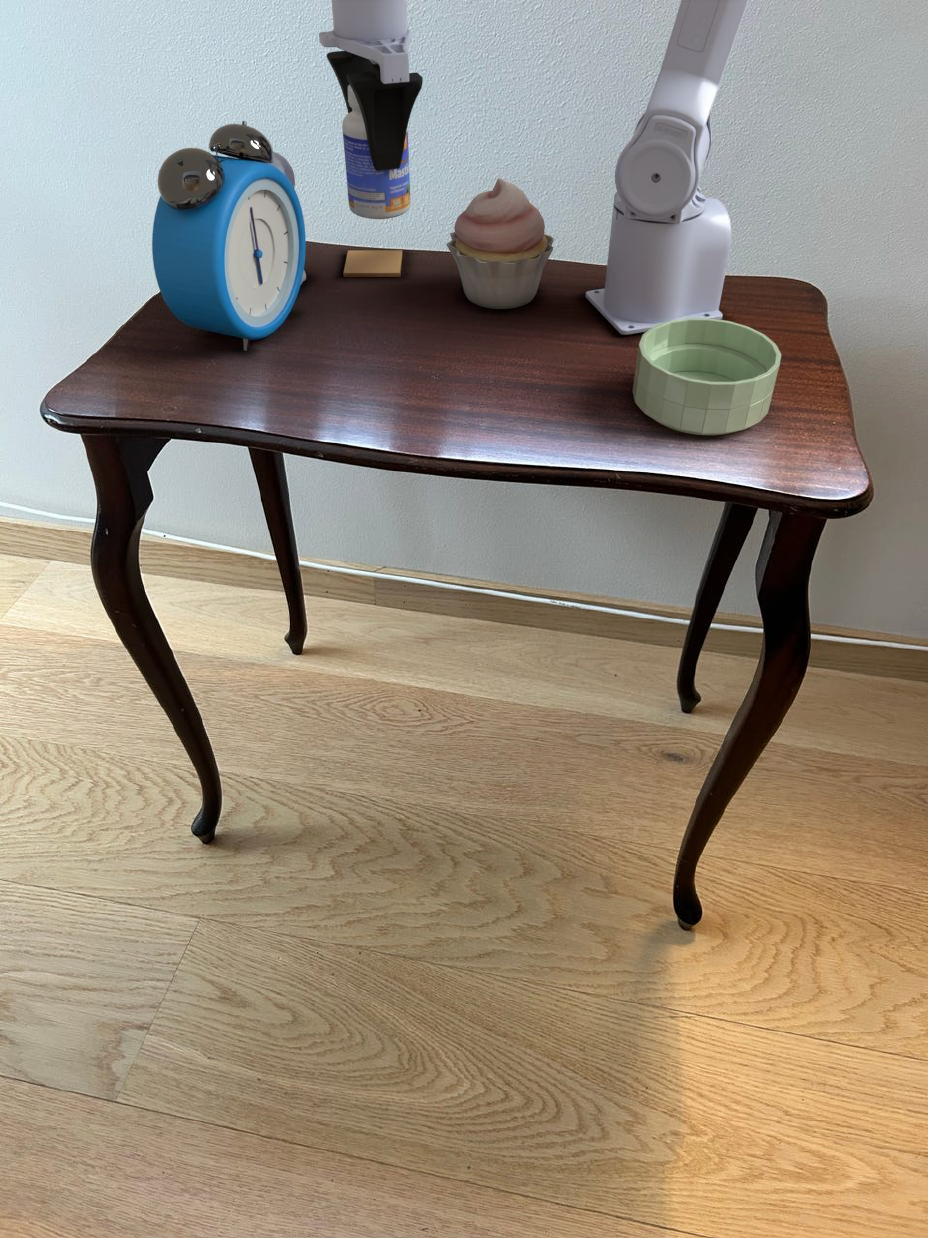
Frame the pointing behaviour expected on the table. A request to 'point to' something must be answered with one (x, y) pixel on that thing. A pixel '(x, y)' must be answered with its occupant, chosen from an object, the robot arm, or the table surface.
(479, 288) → the cupcake
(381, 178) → the pill bottle
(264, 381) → the table surface
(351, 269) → the coaster
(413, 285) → the table surface
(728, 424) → the bowl
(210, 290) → the alarm clock
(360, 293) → the table surface
